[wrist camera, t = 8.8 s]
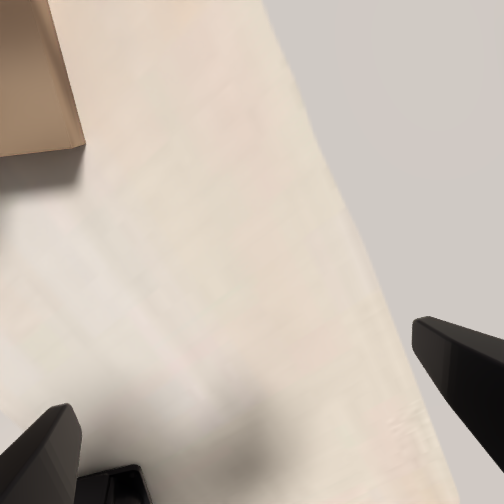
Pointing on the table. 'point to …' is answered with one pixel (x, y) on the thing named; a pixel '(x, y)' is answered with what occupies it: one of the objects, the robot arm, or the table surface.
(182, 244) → the table surface
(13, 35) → the walnut block
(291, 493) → the table surface
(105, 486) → the robot arm
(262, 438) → the table surface
